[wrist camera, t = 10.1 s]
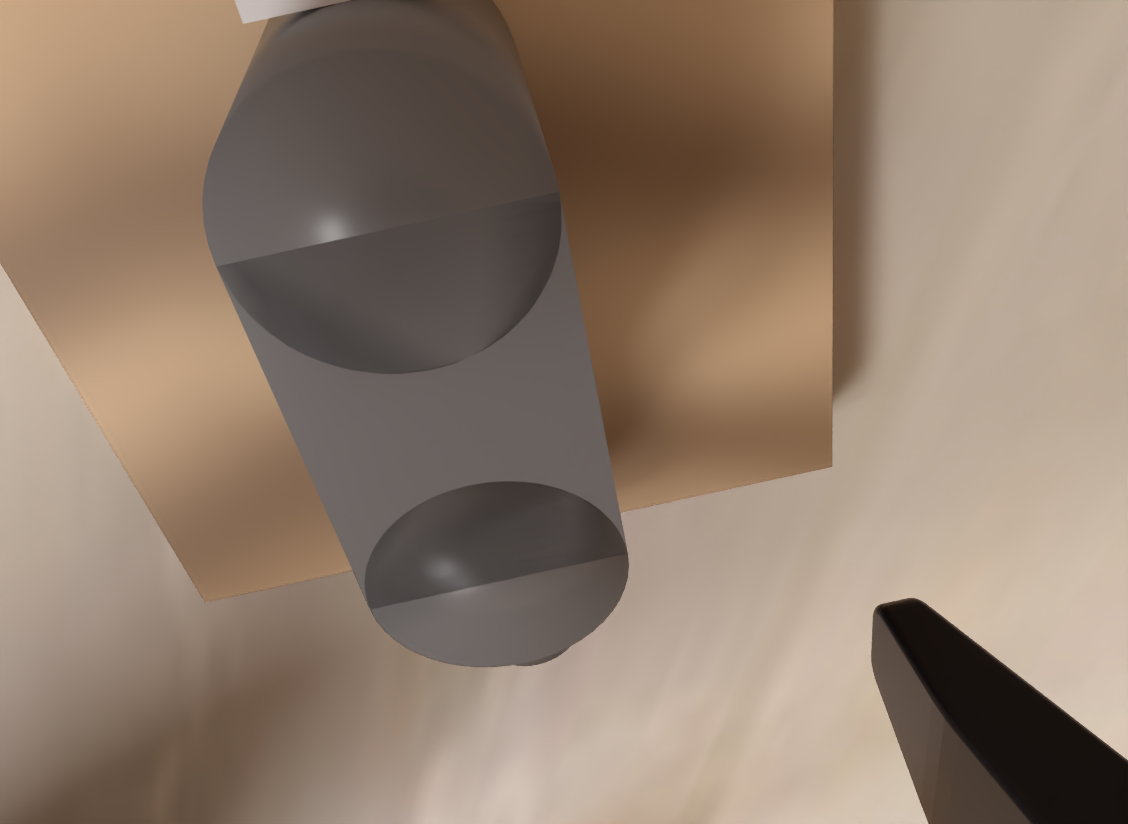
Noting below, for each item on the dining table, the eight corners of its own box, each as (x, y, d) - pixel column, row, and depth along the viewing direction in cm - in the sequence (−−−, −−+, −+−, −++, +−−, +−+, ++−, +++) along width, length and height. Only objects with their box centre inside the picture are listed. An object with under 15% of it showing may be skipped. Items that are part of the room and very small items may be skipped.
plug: (609, 516, 21) (657, 708, 17) (430, 555, 21) (436, 756, 17) (458, -250, 12) (481, -224, 8) (157, -184, 12) (39, -127, 8)
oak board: (809, 425, 22) (832, 466, 21) (216, 553, 22) (205, 602, 21) (793, -526, 12) (835, -550, 11) (-266, -298, 12) (-337, -297, 11)
